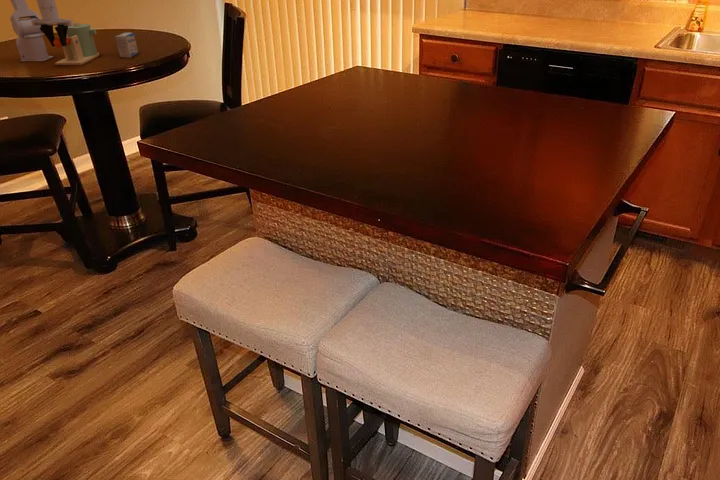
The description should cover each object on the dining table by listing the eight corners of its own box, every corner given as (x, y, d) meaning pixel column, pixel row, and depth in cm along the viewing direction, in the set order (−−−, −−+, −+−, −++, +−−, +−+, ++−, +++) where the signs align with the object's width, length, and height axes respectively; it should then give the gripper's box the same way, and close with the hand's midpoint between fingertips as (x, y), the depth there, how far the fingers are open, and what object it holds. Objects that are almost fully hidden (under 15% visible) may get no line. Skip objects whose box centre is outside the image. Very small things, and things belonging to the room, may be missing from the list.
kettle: (68, 60, 231) (57, 24, 223) (81, 54, 240) (71, 19, 233) (96, 60, 231) (87, 25, 223) (109, 54, 240) (100, 20, 233)
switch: (61, 47, 215) (59, 38, 214) (52, 47, 215) (50, 38, 214) (77, 45, 225) (75, 36, 224) (68, 45, 225) (66, 36, 224)
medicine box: (131, 58, 233) (125, 36, 229) (120, 58, 233) (114, 36, 229) (138, 54, 240) (133, 32, 235) (128, 54, 240) (123, 32, 235)
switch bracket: (81, 66, 223) (73, 39, 217) (55, 65, 223) (47, 39, 217) (95, 58, 233) (88, 33, 227) (71, 58, 233) (63, 33, 228)
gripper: (21, 8, 206) (34, 48, 214) (61, 9, 206) (73, 48, 213) (32, 5, 212) (45, 44, 220) (71, 6, 212) (82, 44, 219)
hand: (59, 46), depth 217 cm, fingers closed on switch, 3 cm apart
